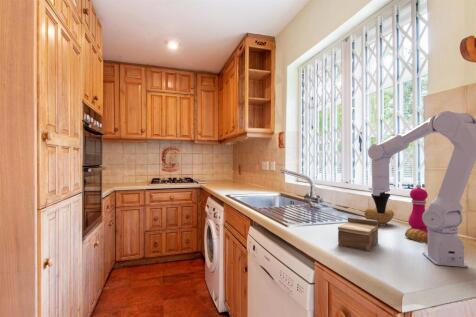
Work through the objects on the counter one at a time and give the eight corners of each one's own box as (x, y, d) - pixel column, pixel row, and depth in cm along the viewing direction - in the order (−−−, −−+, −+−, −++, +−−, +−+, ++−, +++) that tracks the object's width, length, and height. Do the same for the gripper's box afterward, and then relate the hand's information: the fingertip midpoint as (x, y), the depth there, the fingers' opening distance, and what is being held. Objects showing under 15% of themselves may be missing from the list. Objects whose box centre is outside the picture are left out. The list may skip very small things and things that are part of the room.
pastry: (439, 242, 96) (439, 232, 96) (428, 245, 93) (428, 234, 93) (413, 235, 105) (413, 226, 105) (402, 238, 102) (402, 228, 102)
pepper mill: (420, 236, 103) (419, 185, 103) (404, 231, 110) (403, 183, 110) (434, 235, 105) (434, 184, 105) (417, 230, 112) (417, 183, 112)
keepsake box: (368, 251, 86) (368, 236, 86) (338, 245, 93) (338, 231, 93) (378, 242, 95) (377, 229, 95) (349, 237, 102) (349, 224, 102)
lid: (368, 235, 86) (368, 227, 86) (338, 230, 93) (338, 222, 93) (377, 228, 95) (377, 220, 95) (349, 224, 102) (349, 216, 102)
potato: (400, 226, 119) (400, 208, 119) (374, 228, 116) (374, 209, 116) (384, 221, 129) (384, 204, 129) (359, 222, 125) (359, 206, 126)
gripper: (373, 175, 106) (374, 209, 106) (363, 177, 95) (364, 214, 95) (393, 175, 102) (394, 211, 102) (385, 177, 91) (386, 217, 91)
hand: (381, 213), depth 98 cm, fingers closed
